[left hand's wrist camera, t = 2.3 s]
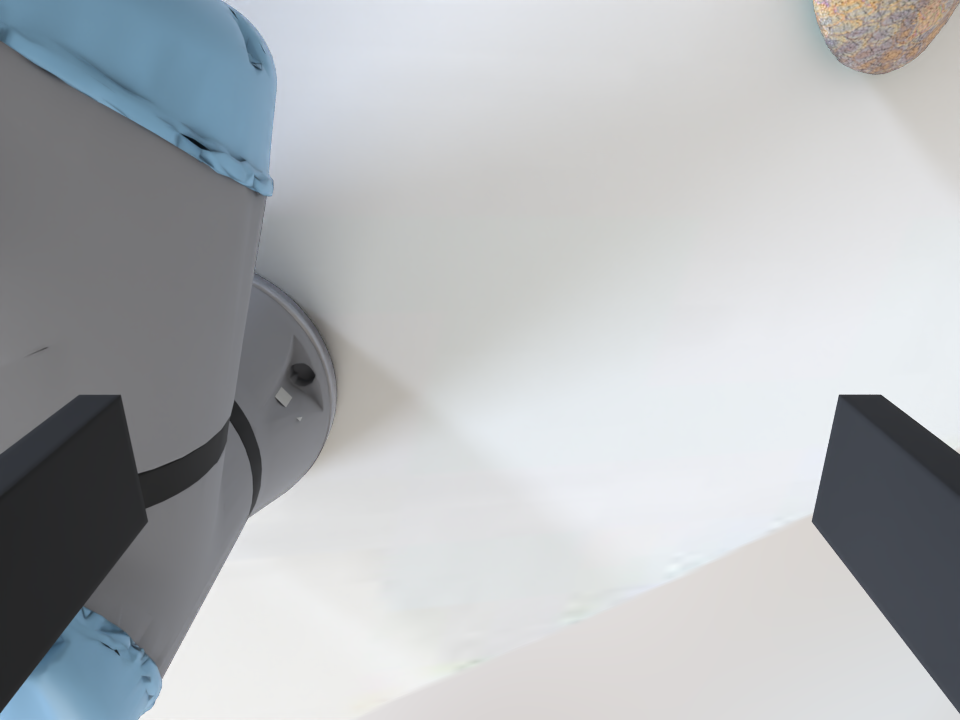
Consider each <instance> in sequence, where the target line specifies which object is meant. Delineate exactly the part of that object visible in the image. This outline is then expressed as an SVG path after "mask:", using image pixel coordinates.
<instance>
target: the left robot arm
mask: <svg viewBox="0 0 960 720" xmlns="http://www.w3.org/2000/svg"><path fill="white" fill-rule="evenodd" d="M276 90H277V76H276V69H275V65H274V62H273V58H272V55H271V53H270V51H269V49H268V46H267V44H266V43H265V41H264V39H263V38H262V36H261V35H260V33H259V32H258V30H257V29H256V28H255V27H254V26H253V25H252V24H251V23H250V22H249V21H248V20H247V19H246V18H245V17H244V16H243V15H242V14H241V13H239V12H238V11H237V10H235V9H234V8H232V7H231V6H229V5H228V4H226V3H225V2H223V1H221V0H0V720H138V719H139V718H140V716H141V715H143V714H144V713H145V712H146V711H148V710H150V709H151V708H152V707H153V705H154V704H155V700H156V699H157V697H158V696H159V693H160V690H161V688H162V678H163V676H164V674H165V673H166V671H167V669H168V667H169V665H170V663H171V661H172V660H173V658H174V656H175V654H176V652H177V650H178V648H179V646H180V645H181V643H182V641H183V639H184V637H185V635H186V633H187V632H188V630H189V628H190V626H191V624H192V622H193V620H194V619H195V617H196V615H197V613H198V611H199V609H200V607H201V606H202V604H203V602H204V600H205V598H206V596H207V594H208V593H209V591H210V589H211V587H212V585H213V583H214V581H215V579H216V578H217V576H218V574H219V572H220V570H221V568H222V566H223V565H224V563H225V561H226V559H227V557H228V555H229V553H230V552H231V550H232V548H233V546H234V544H235V542H236V540H237V539H238V537H239V535H240V533H241V531H242V529H243V527H244V525H245V523H246V521H247V519H248V518H249V517H251V516H252V515H254V514H255V513H256V512H258V511H259V510H261V509H262V508H264V507H265V506H267V505H268V504H269V503H271V502H272V501H274V500H275V499H277V498H278V497H280V496H281V495H283V494H284V493H285V492H287V491H288V490H289V489H290V488H292V487H293V486H294V485H295V484H296V483H297V482H298V481H299V480H300V479H301V478H302V477H303V476H304V475H305V474H306V473H307V471H308V470H309V469H310V468H311V466H312V465H313V464H314V462H315V461H316V459H317V458H318V456H319V454H320V452H321V450H322V448H323V446H324V444H325V441H326V439H327V437H328V435H329V432H330V429H331V426H332V424H333V420H334V415H335V409H336V399H337V389H336V379H335V373H334V369H333V364H332V361H331V358H330V355H329V352H328V350H327V348H326V345H325V343H324V341H323V339H322V337H321V336H320V334H319V332H318V330H317V329H316V327H315V326H314V324H313V323H312V321H311V320H310V319H309V317H308V316H307V315H306V314H305V313H304V311H303V310H302V309H301V308H300V307H299V306H298V305H297V304H296V303H295V302H294V301H293V300H292V299H291V298H290V297H289V296H288V295H286V294H285V293H284V292H283V291H282V290H280V289H279V288H278V287H276V286H275V285H273V284H272V283H271V282H269V281H267V280H266V279H264V278H262V277H261V276H259V275H257V274H255V273H254V270H255V264H256V258H257V252H258V246H259V240H260V234H261V228H262V222H263V216H264V210H265V204H266V198H267V196H272V193H273V180H272V178H271V177H270V175H269V164H270V150H271V138H272V129H273V119H274V110H275V100H276ZM812 522H813V524H814V525H815V526H816V528H817V529H818V530H819V532H820V533H821V534H822V535H823V537H824V538H825V539H826V541H827V542H828V543H829V545H830V546H831V547H832V549H833V550H834V551H835V552H836V554H837V555H838V556H839V558H840V559H841V560H842V561H843V563H844V564H845V565H846V567H847V568H848V569H849V571H850V572H851V573H852V574H853V576H854V577H855V578H856V580H857V581H858V582H859V583H860V585H861V586H862V587H863V589H864V590H865V591H866V593H867V594H868V595H869V597H870V598H871V599H872V600H873V602H874V603H875V604H876V605H877V607H878V608H879V609H880V611H881V612H882V613H883V615H884V616H885V617H886V619H887V620H888V621H889V622H890V624H891V625H892V626H893V628H894V629H895V630H896V631H897V633H898V634H899V635H900V637H901V638H902V639H903V641H904V642H905V643H906V645H907V646H908V647H909V648H910V650H911V651H912V652H913V654H914V655H915V656H916V657H917V659H918V660H919V661H920V663H921V664H922V665H923V667H924V668H925V669H926V670H927V672H928V673H929V674H930V676H931V677H932V678H933V680H934V681H935V682H936V683H937V685H938V686H939V687H940V689H941V690H942V691H943V693H944V694H945V695H946V696H947V698H948V699H949V700H950V702H951V703H952V704H953V705H954V707H955V708H956V709H957V711H958V712H959V713H960V454H959V453H957V452H956V451H955V450H953V449H952V448H951V447H949V446H948V445H947V444H945V443H944V442H943V441H941V440H940V439H939V438H937V437H936V436H935V435H934V434H932V433H931V432H930V431H928V430H927V429H926V428H924V427H923V426H922V425H920V424H919V423H918V422H916V421H915V420H914V419H912V418H911V417H910V416H908V415H907V414H906V413H904V412H903V411H902V410H900V409H899V408H898V407H897V406H895V405H894V404H893V403H891V402H890V401H889V400H887V399H886V398H885V397H883V396H882V395H839V397H838V402H837V407H836V411H835V416H834V421H833V425H832V430H831V434H830V439H829V444H828V448H827V453H826V458H825V462H824V467H823V472H822V476H821V481H820V486H819V490H818V495H817V500H816V504H815V509H814V514H813V518H812Z"/></svg>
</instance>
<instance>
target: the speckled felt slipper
mask: <svg viewBox="0 0 960 720" xmlns="http://www.w3.org/2000/svg"><path fill="white" fill-rule="evenodd" d="M959 3H960V0H813V4H814V11H815V14H816V18H817V22H818V25H819V27H820V30H821V33H822V35H823V36H824V39H825V41H826V44H827V45H828V48H829V49H830V51H831V52H832V53H833V54H834V55H835V56H836V57H837V60H838V61H840V62H841V63H842V64H843V65H845V66H847V67H849V68H852V69H854V70H856V71H860V72H864V73H868V74H874V75H876V74H885V73H888V72H891V71H893V70H896V69H899V68H900V67H903V66H904V65H906V64H907V63H909V62H910V61H912V60H913V59H915V58H916V57H917V56H919V54H921V53H922V52H923V51H924V50H925V49H926V48H927V46H928V45H929V44H930V42H931V41H932V40H933V39H934V38H935V36H936V35H937V34H938V33H939V31H940V30H941V28H942V27H943V26H944V25H945V24H946V23H947V21H948V19H949V18H950V16H951V15H952V13H953V11H954V10H955V8H956V7H957V6H958V4H959Z"/></svg>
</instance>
